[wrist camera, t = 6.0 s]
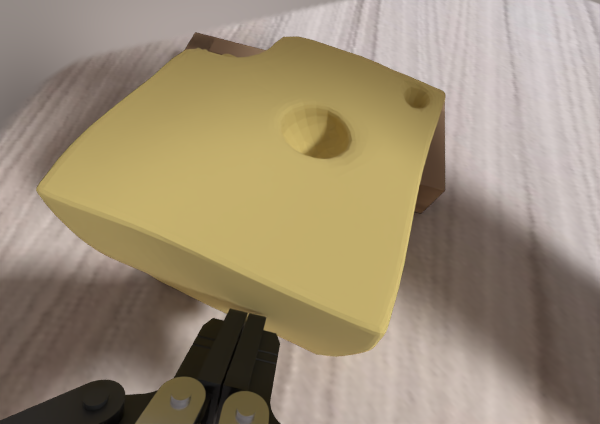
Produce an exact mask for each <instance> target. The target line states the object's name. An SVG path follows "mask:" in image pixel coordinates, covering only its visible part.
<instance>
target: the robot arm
mask: <svg viewBox="0 0 600 424" xmlns="http://www.w3.org/2000/svg"><path fill="white" fill-rule="evenodd" d="M247 315H248V317H247ZM266 318H267V317H264V316H260V315H256V314H252V313H249V314H248V312H243V311H239V310H235V309H231V308H230V309H229V311H228V313H227V315H226V317H225V320H224V321H223V320H219V319H215V318H213V319H211V320H210V321H208V322H207V323H206V324H204V325H203V326H202V328H201V330H200V332H199V334H198V336H197V337H196V339H195V341H194V343H193V345H192V346H191V348H190V350H189V352H188V353H187V355H186V357H185V359H184V361H183V362H182V364H181V366H180V368H179V369H178V371H177V373H176V375H175V377H174V378H173V379H171V380H169V381H167V382H166V383H164V384H163V385H162V386H161V387H160V388H159V390H157V391H155V392H151V393H146V394H133V395H125V391H124V388H123V387H122V386H121V385H120V384H119V383H117V382H115V381H112V380H98V381H93V382H90V383H87V384H85V385H83V386H80V387H78V388H76V389H73V390H71V391H69V392H66V393H64V394H62V395H59V396H57V397H55V398H52V399H50V400H47V401H45V402H43V403H40V404H38V405H36V406H33V407H31V408H29V409H26V410H24V411H22V412H19V413H17V414H15V415H12V416H10V417H8V418H5V419H3V420H0V424H280V423H279V422H278V421H277V419H276V418H275V417H274V415H273V413H272V410H271V406H270V399H271V393H272V387H273V381H274V375H275V370H276V364H277V358H278V352H279V346H280V342H279V340H278V337H277V334H276V333H273V332H269V331H265V330H264V326H265V322H266Z"/></svg>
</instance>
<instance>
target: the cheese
mask: <svg viewBox="0 0 600 424" xmlns="http://www.w3.org/2000/svg"><path fill="white" fill-rule="evenodd" d="M444 101H445V93H444V92H443V91H442V90H440V89H437V88H435V87H432V86H430V85H428V84H426V83H424V82H421V81H419V80H416V79H414V78H412V77H409V76H407V75H405V74H402V73H399V72H397V71H394V70H392V69H390V68H388V67H385V66H383V65H381V64H379V63H377V62H374V61H372V60H369V59H367V58H364V57H362V56H359V55H356V54H353V53H350V52H347V51H344V50H340V49H338V48H335V47H332V46H329V45H326V44H323V43H320V42H317V41H314V40H310V39H306V38H302V37H283V38H281V39H280V40H279V41H277V42H276V43H275V44H274V45H273V46H272V47H271V48H269V49H268V50H266V51H264V52H262V53H260V54H256V55H253V56H249V57H235V56H233V55H231V54H223V55H219V54H216V53H213V52H208V51H207V50H206V49H204V50H202V49H200V48H197V49H186V50H185V51H183V52H181V53H180V54H178V55H177V56H175V57H174V58H172V59H171V60H170V61H169V62H168V63H167V64H166V65H164V66H163V67H162V68H161V69H160V70H159V71H158V72H157V73H156V74H155V75H153V76H152V77H151V78H150V79H148V80H147V81H146V82H144V83H143V84H142V85H141V86H139V87H138V88H137V89H136V90H134V91H133V92H132V93H130V94H129V95H128V96H127V97H125V98H124V99H123V100H122V101H120V102H119V103H118V104H117V105H115V106H114V107H113V108H112V109H110V110H109V111H108V112H107V113H105V114H104V115H103V116H102V117H101V118H99V119H98V120H97V121H96V122H95V123H93V124H92V125H91V126H90V127H89V128H88V129H87V130H86V131H84V132H83V133H82V134H81V135H80V136H79V137H78V138H77V139H76V140H75V141H74V142H73V143H72V144H71V145H70V146H69V147H68V148H67V150H66V151H65V152H64V153H63V154H62V155H61V156H60V157H59V159H58V160H57V161H56V162H55V164H54V165H53V166H52V168H51V169H50V170H49V172H48V173H47V174H46V175H45V177H44V178H43V179H42V181H41V182H40V183H39V185H38V186H37V189H36V191H37V192H38V194H39V195H40V197H41V198H42V199H43V201H44V202H45V203H46V205H47V206H48V207H49V208H50V210H51V211H52V212H53V213H54V214H55V215H56V216H57V217H58V218H59V219H60V220H61V221H62V222H63V223H64V224H65V225H66V226H67V227H68V228H69V229H70V230H71V231H72V232H73V233H74V234H76V235H77V236H78V237H79V238H80V239H82V240H83V241H84V242H85V243H87V244H88V245H90V246H91V247H93V248H94V249H96V250H97V251H99V252H101V253H102V254H104V255H106V256H108V257H110V258H112V259H115V260H117V261H119V262H122V263H124V264H126V265H129V266H131V267H133V268H136V269H138V270H141V271H143V272H145V273H147V274H149V275H151V276H152V277H154V278H155V279H157V280H158V281H160V282H162V283H164V284H167V285H169V286H171V287H173V288H175V289H177V290H179V291H181V292H183V293H185V294H187V295H189V296H190V297H192V298H194V299H196V300H198V301H201V302H203V303H205V304H207V305H209V306H211V307H213V308H215V309H218V310H220V311H222V312H224V313H226V314H227V313H228V311H229V309H230V308H231V309H235V310H239V311H243V312H248V314H249V313H252V314H256V315H260V316H264V317H267V318H266V322H265V326H264V330H265V331H269V332H273V333H276V334H277V336H279V337H281V338H283V339H285V340H288V341H290V342H292V343H294V344H296V345H298V346H300V347H302V348H304V349H306V350H308V351H311V352H313V353H315V354H318V355H326V356H346V355H353V354H358V353H363V352H366V351H369V350H371V349H373V348H374V347H375V346H376V344H377V343H378V342H379V340H380V339H381V338H382V337H383V336H384V334H385V333H386V330H387V328H388V325H389V321H390V318H391V314H392V310H393V307H394V303H395V300H396V296H397V293H398V289H399V285H400V280H401V276H402V272H403V268H404V263H405V257H406V252H407V247H408V242H409V237H410V231H411V226H412V221H413V215H414V210H415V205H416V200H417V195H418V190H419V185H420V181H421V177H422V172H423V168H424V165H425V161H426V158H427V154H428V150H429V147H430V144H431V141H432V138H433V135H434V132H435V128H436V126H437V123H438V120H439V117H440V114H441V111H442V107H443V104H444ZM247 317H248V315H247Z"/></svg>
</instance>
